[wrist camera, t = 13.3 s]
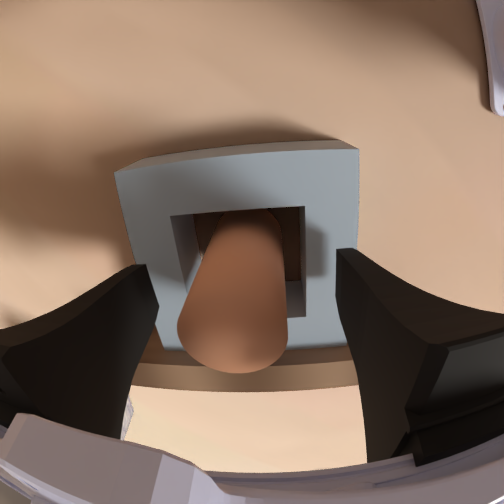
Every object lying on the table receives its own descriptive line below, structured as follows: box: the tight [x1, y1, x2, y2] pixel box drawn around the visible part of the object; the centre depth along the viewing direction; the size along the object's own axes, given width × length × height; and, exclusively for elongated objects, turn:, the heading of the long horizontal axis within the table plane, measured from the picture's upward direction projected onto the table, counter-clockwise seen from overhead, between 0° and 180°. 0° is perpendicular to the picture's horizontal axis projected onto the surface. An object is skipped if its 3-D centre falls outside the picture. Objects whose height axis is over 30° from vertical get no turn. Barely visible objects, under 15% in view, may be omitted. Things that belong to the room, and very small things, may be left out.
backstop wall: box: [131, 325, 359, 392], centre depth 15 cm, size 14×2×4 cm, turn 95°
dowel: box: [177, 208, 288, 373], centre depth 12 cm, size 3×3×7 cm
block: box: [114, 140, 359, 351], centre depth 13 cm, size 9×9×3 cm
